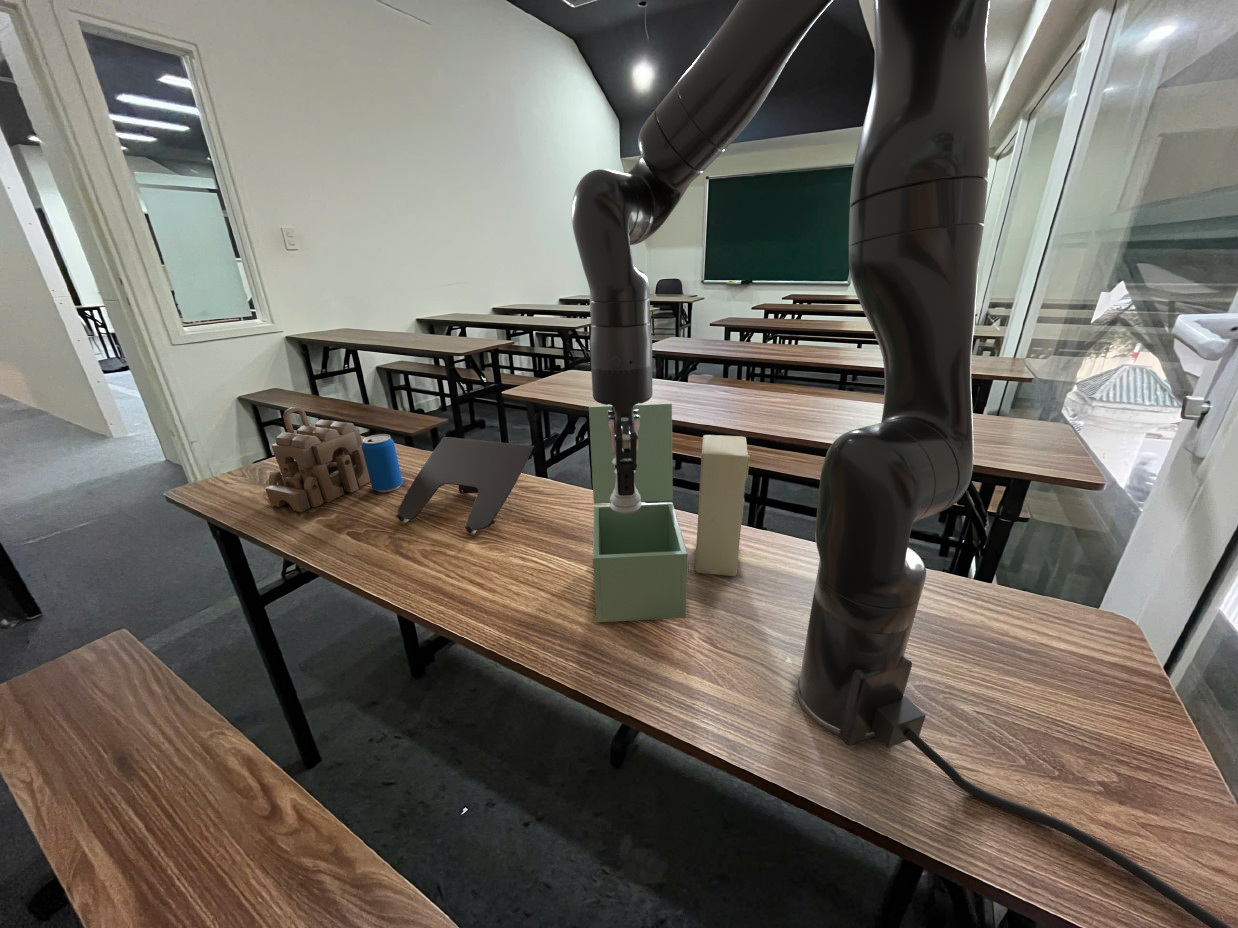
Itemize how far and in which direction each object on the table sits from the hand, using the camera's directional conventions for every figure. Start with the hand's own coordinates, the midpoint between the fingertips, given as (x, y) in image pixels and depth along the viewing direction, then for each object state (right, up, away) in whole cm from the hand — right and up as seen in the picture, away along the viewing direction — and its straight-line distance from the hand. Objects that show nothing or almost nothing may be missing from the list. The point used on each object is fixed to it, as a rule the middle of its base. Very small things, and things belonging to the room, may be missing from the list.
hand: (625, 487), depth 65 cm
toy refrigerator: (+16, -13, +15) cm, 25 cm away
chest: (+2, -16, +9) cm, 18 cm away
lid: (+1, +5, +9) cm, 10 cm away
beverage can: (-54, -2, +44) cm, 70 cm away
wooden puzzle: (-68, -2, +45) cm, 82 cm away
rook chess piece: (0, -3, +1) cm, 3 cm away
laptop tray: (-33, -6, +35) cm, 48 cm away
